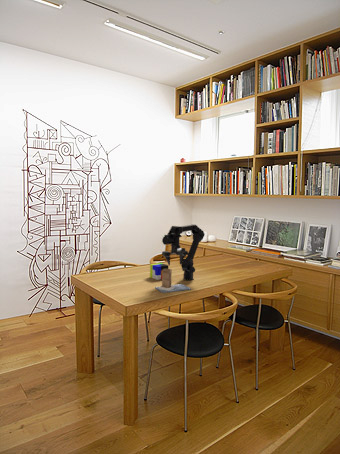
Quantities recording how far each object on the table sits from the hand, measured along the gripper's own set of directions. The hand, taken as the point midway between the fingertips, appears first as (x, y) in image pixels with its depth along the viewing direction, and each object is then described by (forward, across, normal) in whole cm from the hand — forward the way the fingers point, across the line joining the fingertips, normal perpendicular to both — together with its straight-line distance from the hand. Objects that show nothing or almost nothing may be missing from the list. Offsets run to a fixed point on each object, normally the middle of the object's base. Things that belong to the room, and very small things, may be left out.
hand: (174, 264), depth 242 cm
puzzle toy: (+13, -4, +18) cm, 23 cm away
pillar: (+12, -14, -14) cm, 23 cm away
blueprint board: (+13, -8, -14) cm, 21 cm away
